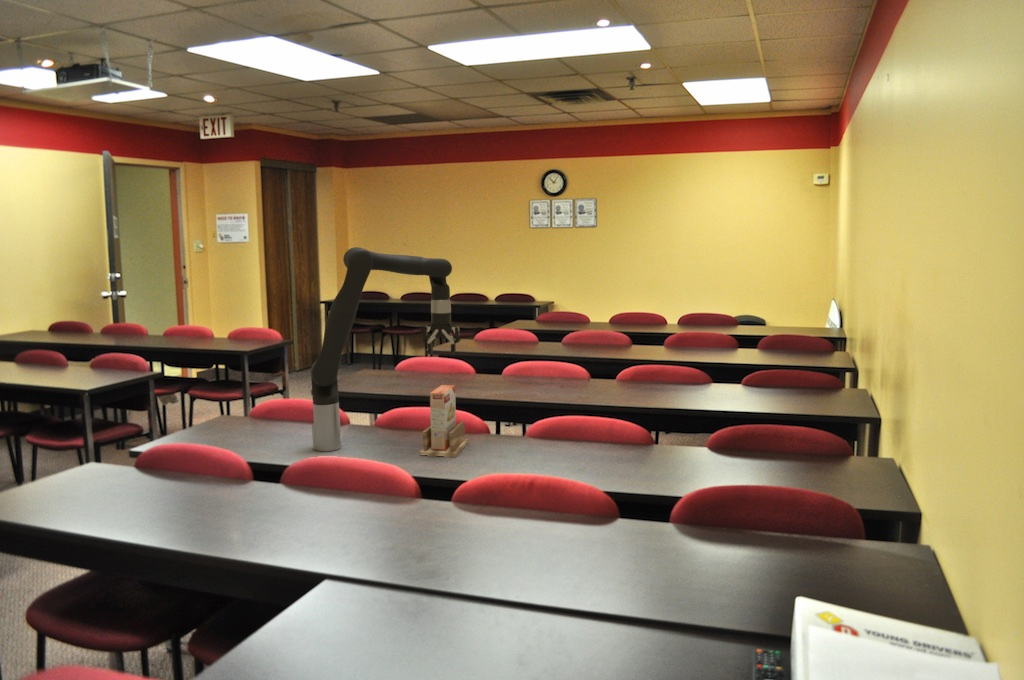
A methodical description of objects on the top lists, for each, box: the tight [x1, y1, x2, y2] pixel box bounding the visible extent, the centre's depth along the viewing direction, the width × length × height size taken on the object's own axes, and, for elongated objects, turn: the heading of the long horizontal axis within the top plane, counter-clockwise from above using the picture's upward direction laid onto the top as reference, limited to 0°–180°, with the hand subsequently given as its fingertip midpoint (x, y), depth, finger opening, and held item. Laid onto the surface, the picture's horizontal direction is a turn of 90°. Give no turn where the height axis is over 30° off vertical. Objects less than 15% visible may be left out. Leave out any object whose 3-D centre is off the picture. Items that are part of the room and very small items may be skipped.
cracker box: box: [429, 384, 457, 450], centre depth 279 cm, size 14×6×21 cm, turn 168°
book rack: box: [419, 420, 469, 458], centre depth 280 cm, size 13×18×8 cm
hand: (441, 353), depth 296 cm, fingers open, 8 cm apart
